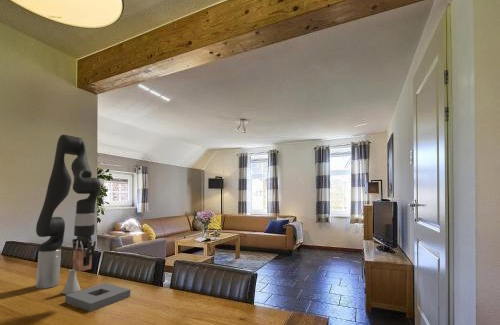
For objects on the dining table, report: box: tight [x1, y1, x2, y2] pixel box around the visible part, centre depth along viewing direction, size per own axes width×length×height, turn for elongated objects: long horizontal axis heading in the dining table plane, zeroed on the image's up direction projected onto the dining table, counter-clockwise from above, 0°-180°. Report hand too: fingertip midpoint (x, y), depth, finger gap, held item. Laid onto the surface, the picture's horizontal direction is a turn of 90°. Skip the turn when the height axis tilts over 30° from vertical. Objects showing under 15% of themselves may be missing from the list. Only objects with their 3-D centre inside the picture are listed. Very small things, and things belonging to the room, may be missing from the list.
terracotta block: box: [72, 248, 93, 272], centre depth 119 cm, size 5×5×8 cm
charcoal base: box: [64, 282, 131, 313], centre depth 121 cm, size 18×18×3 cm
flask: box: [61, 268, 82, 295], centre depth 130 cm, size 7×7×10 cm
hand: (82, 264), depth 119 cm, fingers closed on terracotta block, 5 cm apart
